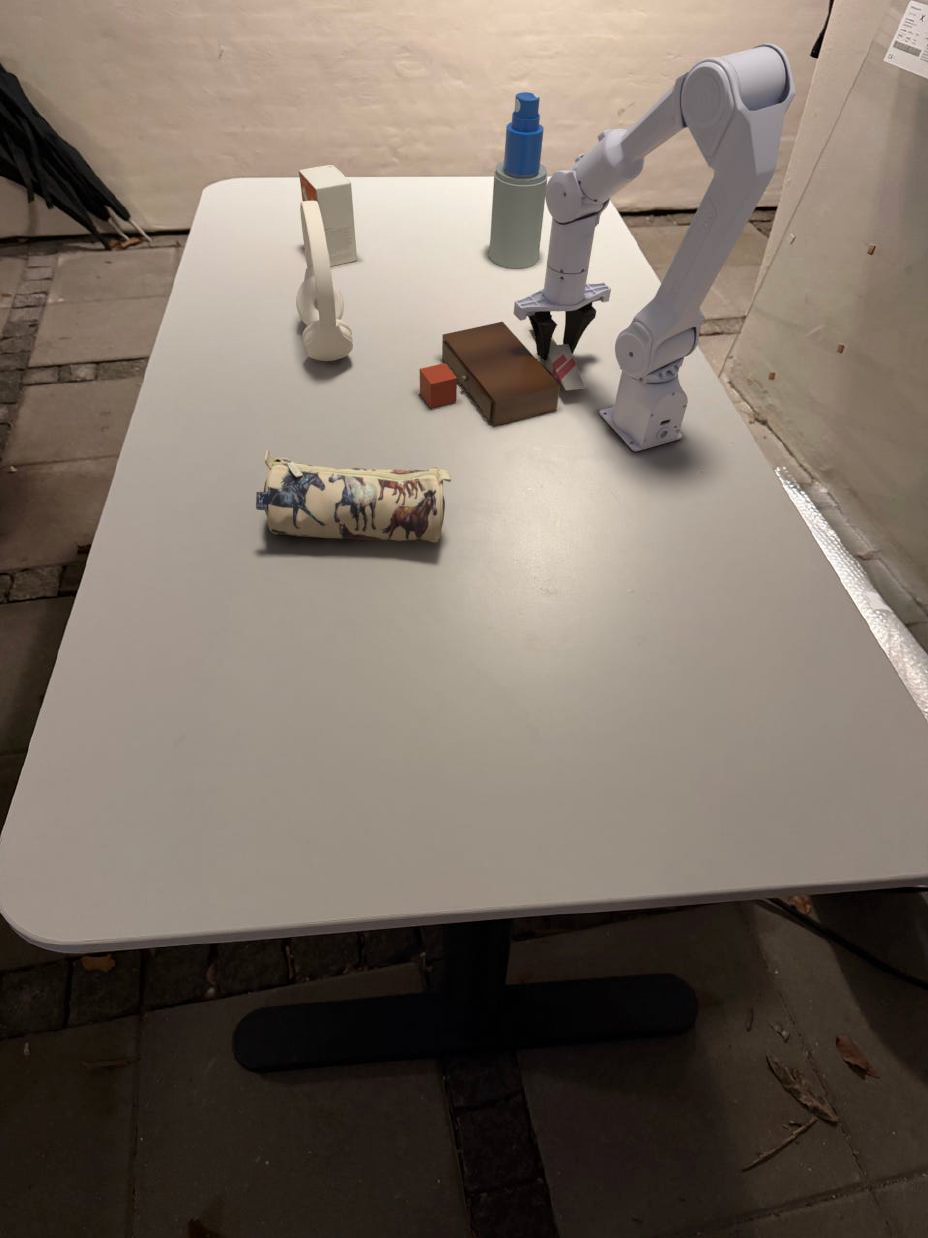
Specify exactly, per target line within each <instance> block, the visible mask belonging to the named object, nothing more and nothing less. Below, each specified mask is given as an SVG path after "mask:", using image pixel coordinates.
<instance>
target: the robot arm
mask: <svg viewBox="0 0 928 1238" xmlns="http://www.w3.org/2000/svg"><path fill="white" fill-rule="evenodd" d="M796 93H797V91H796V86H795V82H794V77H793V72H792V68H791V64H790V60H789V58H788V56H787V54H786V52H785V51H784V50H783V49H782V48H781V47H780V46H778V45H776V44H774V43H769V42H768V43H761V44H759V45H756V46H753V47H752V48H750V49H746V50H741V51H737V52H733V53H729V54H725V55H722V56H717V57H714V56H709V57H705V58H703V59H700V60H698V62H696V63H695V64H694V65H693V66H692V67H691V68H690V69H689V70H688V71H685V72H684V73H682V74H680V75H679V76H678V77H676V79H675V82H674V84H673V85H672V86H671V87H670V88H669V89H668V90H667V91H666V92H665V93H664V94H663V95H662V96H661V97H660V98H659V99H658V100H657V101H656V102H655V103H653V104H652V106H651V107H650V108H649V109H648V110H647V111H646V112H645V113H644V114H643V115H642V116H641V117H640V118H638V120H637V121H636V122H634V124H633V125H632V126H631V127H630V128H628V129H626V128H614V129H613V128H609V129H605V130H603V131H602V132H600V133H599V134H598V135H597V140H598V142H597V143H596V144H595V145H594V146H593V147H592V148H591V149H589V151H588V152H586V153H581V154H579V155H577V156H576V158H575V159H574V162H575V163H574V164H573V166H571V168H570V169H560V170H556V171H554V172H553V173H552V175H551V177H549V179H548V180H547V186H546V193H545V204H546V207H547V211H548V212H549V214H550V216H551V217H552V218H551V225H550V235H549V241H548V242H549V243H548V251H547V259H546V267H545V277H544V283H543V284H544V285H543V288H542V289H540V290H537V292H534V293H532V294H530V295H529V296H526V297H524V298H521V299H518V300H515V301H514V305H513V315H514V316H515V317H516V318H517V319H518V320H519V321H525V320H527V317H528V320H529V322H531V323H530V325H531V328H532V331H533V335H534V340H535V346H536V355H537V356H538V357H539V358H540V359H541V360H542V361H543V360H547V357H548V354H549V350H550V343H551V339H552V337H553V336H554V332H555V330H556V329H557V326H558V323H557V322H556V321H554V319H553V315H552V314H551V312H564V314H565V315H564V317H565V318H564V319H565V320H564V329H563V330H564V331H563V338H562V344H569V347H570V350H571V353H572V355H573V354H574V353H575V350H576V348H577V346H578V344H579V341H580V339H581V337H582V335H583V334H584V332H585V331H586V329H587V327H588V326H590V324H591V323H592V321H594V319H595V318H596V316H597V309H596V308H595V307H594V306H593V303H595V302H601V303H608V302H610V296H611V291H612V288H611V287H609V285H607V283H605V282H598V283H587V280H588V275H589V267H590V262H591V256H592V251H593V250H592V249H593V244H594V243H593V242H594V238H595V237H594V236H595V231H596V227H598V225H599V224H600V220H601V219H600V218H601V215H602V213H603V212H604V211H605V210H606V209H607V208H608V206H609V204H610V201H611V198H612V197H613V196H615V195H616V194H617V193H618V192H620V191H621V190H623V189H624V188H625V187H626V186H627V185H629V184H630V183H631V182H632V181H634V180H635V179H636V178H637V177H639V176H640V175H641V173H642V171H643V168H644V164H645V157H646V156H648V155H649V154H650V153H652V152H653V151H655V150H656V149H658V148H659V147H661V146H662V145H663V144H664V143H666V142H668V140H670V139H671V138H673V137H674V136H675V135H677V134H678V133H679V132H681V131H682V130H684V129H687V128H688V130H689V131H690V134H691V135H692V138H693V140H694V141H695V143H696V146H697V147H698V149H699V151H700V153H701V155H702V157H703V159H704V161H705V163H706V164H707V166H708V167H709V168H710V169H712V172H713V177H712V179H711V181H710V183H709V185H708V187H707V190H706V191H705V194H704V195H703V198H702V200H701V202H700V203H699V206H698V207H697V209H696V212H695V214H694V216H693V217H692V220H691V221H690V224H689V226H688V227H687V230H686V232H685V234H684V235H683V236H684V237H683V238H682V240H681V242H680V245H679V246H678V248H677V251H676V253H675V255H674V257H673V259H672V261H671V262H670V265H669V267H668V269H667V271H666V272H665V275H664V277H663V279H662V281H661V283H660V285H659V287H658V290H657V292H656V293H655V295H654V297H653V298H652V299H651V300H650V301H649V302H648V303H647V304H646V305H645V306H644V307H643V308H641V310H640V311H638V313H636V314H635V315H634V317H633V318H632V321H631V322H630V324H629V326H627V327H626V328H625V329H623V330H621V331H620V332H619V333H618V335H617V337H616V339H615V345H614V354H615V358H616V359H615V360H616V362H617V364H618V366H619V369H620V370H621V372H620V373H621V374H620V378H619V382H618V387H617V392H616V395H615V401H614V405H613V406H611V407H607V408H603V409H601V410H599V416H600V417H601V418H602V419H603V420H604V421H605V422H606V423H607V424H608V426H610V428H611V429H612V430H613V431H614V432H615V433H616V434H617V435H618V436H619V437H620V438H621V439H622V441H624V443H625V444H626V445H627V446H628V448H629V449H631V450H632V451H633V452H640V451H643V450H647V449H650V448H653V447H656V446H660V445H664V444H667V443H671V442H674V441H678V440H681V439H682V438H683V434H682V433H681V432H680V430H681V427H682V423H683V419H684V417H685V413H686V410H687V407H688V402H689V401H688V400H689V399H688V395H687V393H686V391H684V389H683V387H682V386H681V383H680V379H679V371H680V368H682V366H683V363H684V359H685V357H688V356H690V355H692V354H693V353H694V351H696V348H697V347H698V345H699V340H700V332H701V327H702V325H703V323H704V321H705V319H706V316H705V314H704V313H703V310H702V309H701V306H702V304H703V303H704V301H705V299H706V297H707V295H708V294H709V292H710V290H711V288H712V286H713V284H714V283H715V281H716V279H717V277H718V276H719V274H720V272H721V270H722V268H723V266H724V265H725V263H726V261H727V260H728V258H729V256H730V254H731V252H732V251H733V249H734V247H735V245H736V243H737V242H738V240H739V238H740V236H741V235H742V233H743V231H744V229H745V227H746V226H747V224H748V222H749V220H750V218H751V217H752V215H753V213H754V211H755V210H756V207H757V206H758V204H759V202H760V201H761V198H762V197H763V195H764V193H765V192H766V190H767V188H768V186H769V184H770V182H771V181H772V180H773V179H772V178H773V176H774V174H775V172H776V168H777V162H778V155H779V150H780V145H781V144H780V142H781V137H782V130H783V125H784V119H785V115H786V113H787V111H788V110H789V108H790V106H791V104H792V103H793V100H794V98H795V97H796Z"/></svg>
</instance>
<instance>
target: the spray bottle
mask: <svg viewBox="0 0 928 1238" xmlns="http://www.w3.org/2000/svg"><path fill="white" fill-rule="evenodd" d="M540 100H541V97H540V96H538V97H536V96H535V94H534V93H532V92H528V91H525V92H523V91H522V92H518V93H516V94H515V98H514V111H513V112H512V114H511V122H509V123H507V124H506V128H505V143H504V158H503V160H501V161H500V162H498V163H497V164H496V166H495V170H494V171H493V187H492V203H491V204H492V205H491V221H490V237H489V253H488V254H489V255H488V258H489V259H490V261H492V262H493V263H494V264H495V265H498V266H500V267H502V268H506V269H517V270H519V269H527V268H529V267H532V266H534V265H536V264H537V263H538V261H539V258H540V247H541V240H542V231H543V222H544V212H545V204H546V197H545V193H546V186H547V183H548V169H547V167H546V166H545V165H544V164H542V163H541V158H542V151H543V150H542V149H543V140H544V139H543V138H544V129H545V128H544V126H543V125H542V124H540V119H541V114H540V113H539V112H540V111H539V108H540Z"/></svg>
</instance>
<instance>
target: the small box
mask: <svg viewBox="0 0 928 1238" xmlns="http://www.w3.org/2000/svg"><path fill="white" fill-rule="evenodd" d="M298 176H299V184H300V192H301V202H303V201H317V203H318V205H319V209H320V213H321V217H322V222H323V227H324V232H325V238H326V243H327V249H328V253H329V260H330V267H334V266H338V265H345V264H347V263H348V264H349V263H352V262H356V261H357V260H358V254H357V241H356V229H355V216H354V203H353V190H352V189H353V188H352V182H351V181H350V180H349V179H348V178H347V177H346V175H344V173H343V172H341V171H340V170H339V169H338V168H337V166H335V165H334V164H327V165H320V166H314V167H308V168H304V169H299V170H298Z"/></svg>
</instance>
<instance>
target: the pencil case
mask: <svg viewBox="0 0 928 1238" xmlns="http://www.w3.org/2000/svg"><path fill="white" fill-rule="evenodd" d="M264 463H265V465H266V466H267V468H268V473H267V476H266V479H265V481H264V482H265V483H264V486H263V491H256V497H255V498H256V499H255V500H256V501H255V509H256V510H258V511H264V513H265V515H266V522H267V523H266V524H267V527H268V529H269V531H270V532H271V533H272V534H273V535H285V536H286V535H289V536H293V537H298V538H299V537H300V538H320V539H321V538H322V539H348V540H363V541H369V540H382V541H383V540H384V541H391V540H392V541H397V542H403V541H416V540H421V541H428V542H431V543H437V542H438V541H439V539H440V538H441V535H442V529H443V525H444V519H445V513H446V512H445V511H446V501H445V496H444V481H445V482H448V483H451V482H452V476H451V473H450V472H449V471H448V469H443V468H438V467H431V468H429V469H427V470H419V469H413V470H411V469H410V470H406V469H396V468H395V469H394V468H393V469H392V468H391V469H390V468H389V469H373V468H359V467H351V468H335V467H326V466H325V467H324V466H321V465H312V464H305V463H299V462H298V463H297V462H294V461H292V460H291V459H290V458H287V457H275V458H273V456H272V454H271V453H270V450H269V449H266V451H265V455H264Z"/></svg>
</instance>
